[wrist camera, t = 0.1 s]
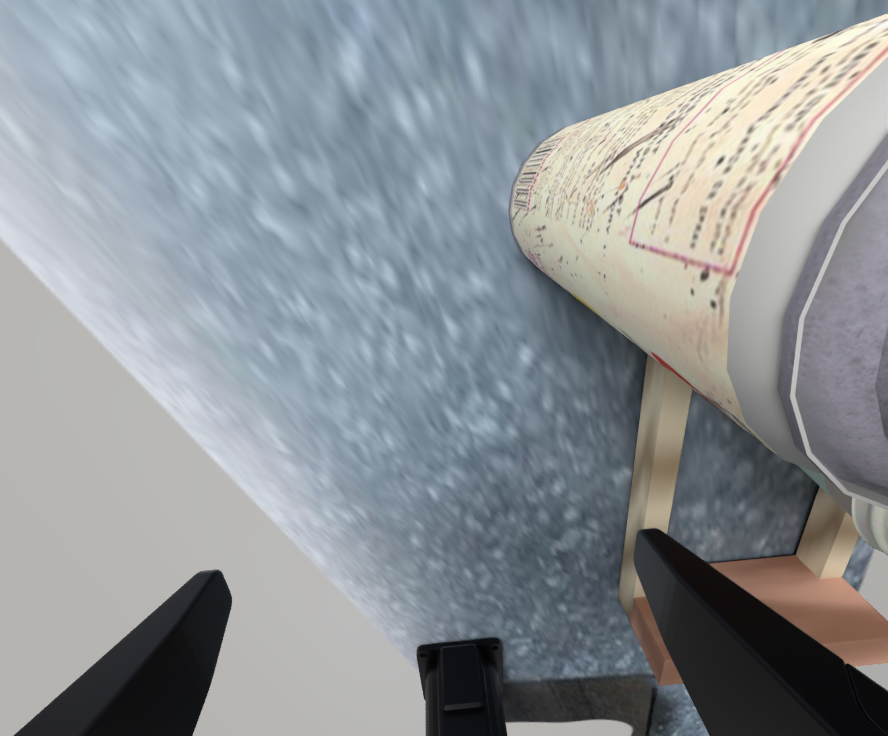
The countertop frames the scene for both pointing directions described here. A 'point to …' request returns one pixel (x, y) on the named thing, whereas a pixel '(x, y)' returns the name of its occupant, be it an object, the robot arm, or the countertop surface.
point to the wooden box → (768, 579)
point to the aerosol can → (742, 243)
